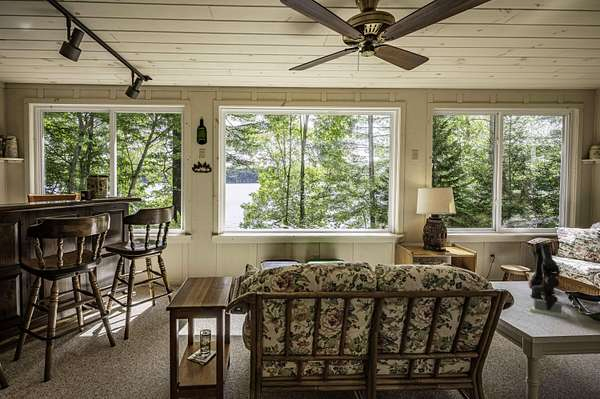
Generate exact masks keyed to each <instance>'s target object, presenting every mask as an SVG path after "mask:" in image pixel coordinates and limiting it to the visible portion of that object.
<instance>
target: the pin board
mask: <svg viewBox="0 0 600 399" xmlns="http://www.w3.org/2000/svg"><path fill="white" fill-rule="evenodd" d="M527 308H528V310H529V311H530V313H535V314H536V313H537V314H541V315H547V316H553V317H557V318H558V317H560V318H564V319H568V314H567V313H566V311H564V309H562V311H561V313H556V312H550V311H544V310H538V309H535V308H534V304H533V305H532V304H528V305H527Z"/></svg>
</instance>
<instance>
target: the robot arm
mask: <svg viewBox="0 0 600 399" xmlns="http://www.w3.org/2000/svg"><path fill="white" fill-rule="evenodd" d="M533 249H534V252H535V253H536V260H535V269H534V270H535V271H534V272H535V274H534V275H533V276H532V279H531V280H530V283H529V282H528V286H529V289H531V294H530V298H531V299H540V300H545V301H546V304H547V310H550V309H551V308H552V306H553V305H554V304H555V302H559V301H558V300H559V299H558V297H557V296H556V295H555V294H556V293H555V288H557V287H558V286H560V281H559V280H558V278H557V277H559V276H560V274H561V273H560V267H559V265H557V261H555V260H554V259H553V255H552V253H551V252H552V251H551V250H552V248H551V244H549V243H547V242H536V243H533Z"/></svg>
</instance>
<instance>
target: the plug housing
mask: <svg viewBox="0 0 600 399" xmlns="http://www.w3.org/2000/svg"><path fill="white" fill-rule="evenodd" d="M533 306H534V308H535V309H538V310H544V311H550V312H556V313H561V311H562V310H563V309H562V307H563V305H562V303H561V302H559V301H557V302H555V304H554V305H553V306H552V308H551V309H550V310H547V304H546V301H545V300H544V299H537V298H533Z"/></svg>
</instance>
